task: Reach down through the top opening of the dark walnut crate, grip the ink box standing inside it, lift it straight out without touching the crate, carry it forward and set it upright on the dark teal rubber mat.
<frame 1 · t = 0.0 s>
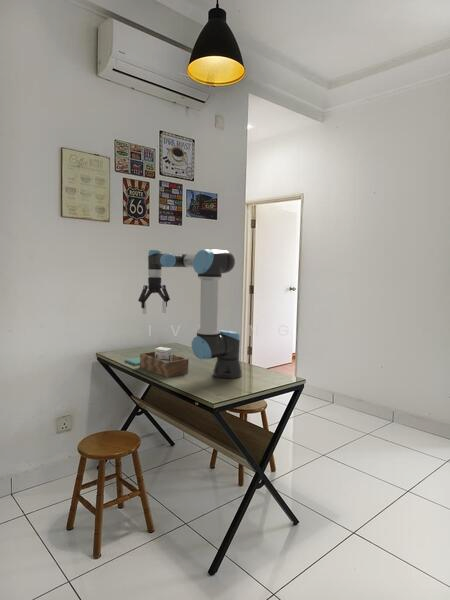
hand: (154, 313, 243), 28 cm above the table, fingers open, 13 cm apart
zone mat: (139, 362, 241), on the table
crate: (163, 369, 225), on the table
ink box: (163, 370, 225), resting in crate
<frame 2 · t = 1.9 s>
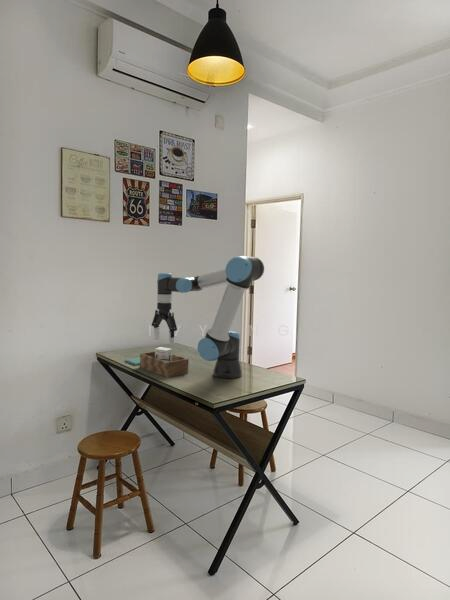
hand: (163, 341, 224), 16 cm above the table, fingers open, 13 cm apart
nothing on the table moved.
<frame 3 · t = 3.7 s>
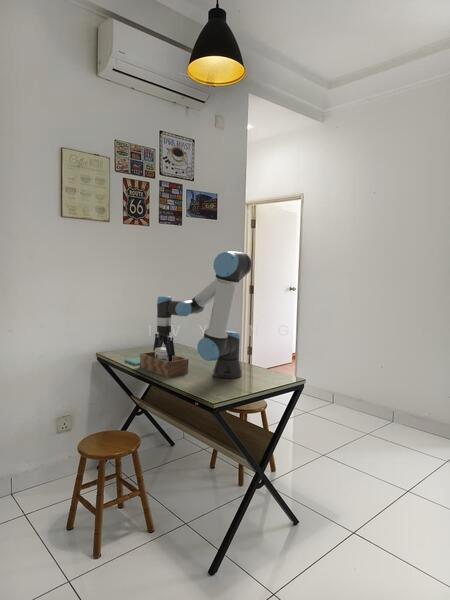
hand: (163, 366, 225), 2 cm above the table, fingers closed on ink box, 9 cm apart
ink box: (163, 370, 225), resting in crate, touching gripper
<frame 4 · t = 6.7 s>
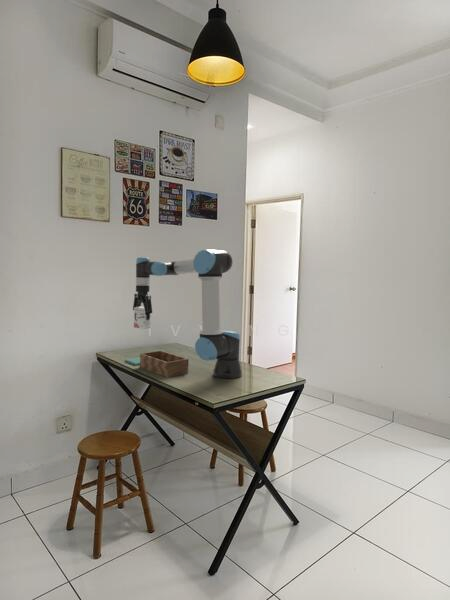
hand: (142, 324, 238), 22 cm above the table, fingers closed on ink box, 9 cm apart
ink box: (142, 328, 238), point 20 cm above the table, touching gripper
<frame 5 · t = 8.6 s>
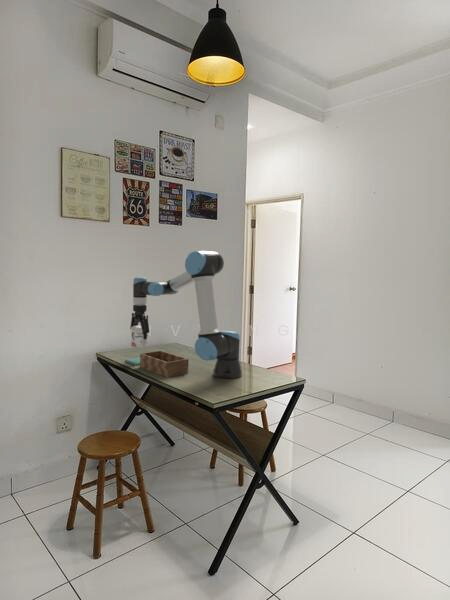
hand: (139, 343, 241), 11 cm above the table, fingers closed on ink box, 9 cm apart
ink box: (139, 347, 241), point 9 cm above the table, touching gripper
when the fingers open (5 cm above the table, at t = 10.1 s): ink box drops 1 cm, resting on zone mat.
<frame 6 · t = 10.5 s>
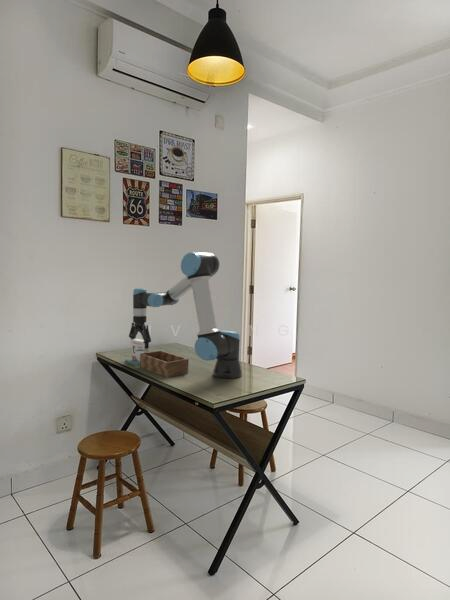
hand: (139, 352, 241), 6 cm above the table, fingers open, 13 cm apart
ink box: (140, 360, 241), point 1 cm above the table, touching zone mat
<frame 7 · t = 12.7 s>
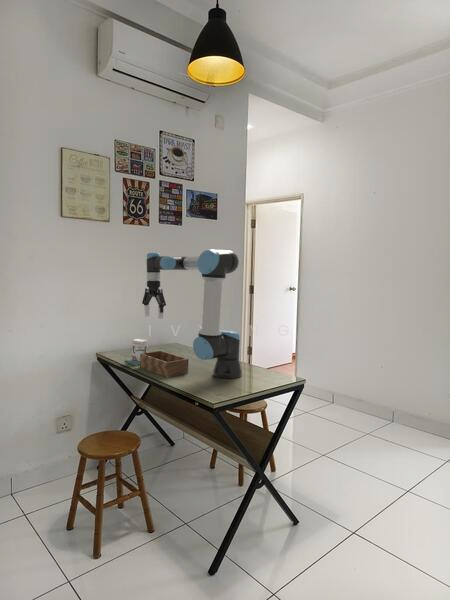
hand: (153, 317, 238), 26 cm above the table, fingers open, 13 cm apart
nothing on the table moved.
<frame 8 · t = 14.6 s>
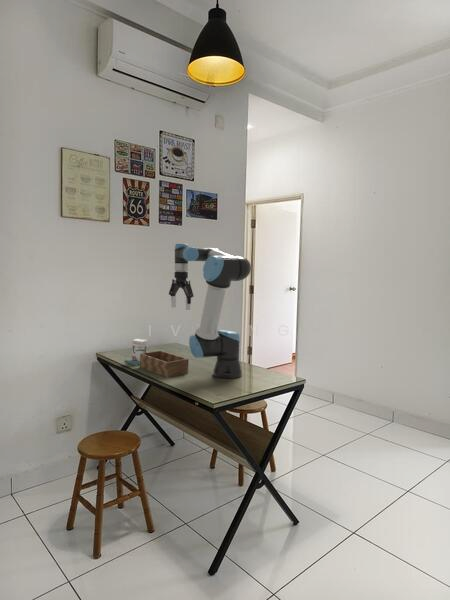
hand: (180, 308, 238), 32 cm above the table, fingers open, 13 cm apart
nothing on the table moved.
at the end: ink box inside the target area on the zone mat (0.8 cm from its centre), point 1.0 cm above the zone mat's base; ink box tilted 0°; the gripper is holding nothing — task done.
